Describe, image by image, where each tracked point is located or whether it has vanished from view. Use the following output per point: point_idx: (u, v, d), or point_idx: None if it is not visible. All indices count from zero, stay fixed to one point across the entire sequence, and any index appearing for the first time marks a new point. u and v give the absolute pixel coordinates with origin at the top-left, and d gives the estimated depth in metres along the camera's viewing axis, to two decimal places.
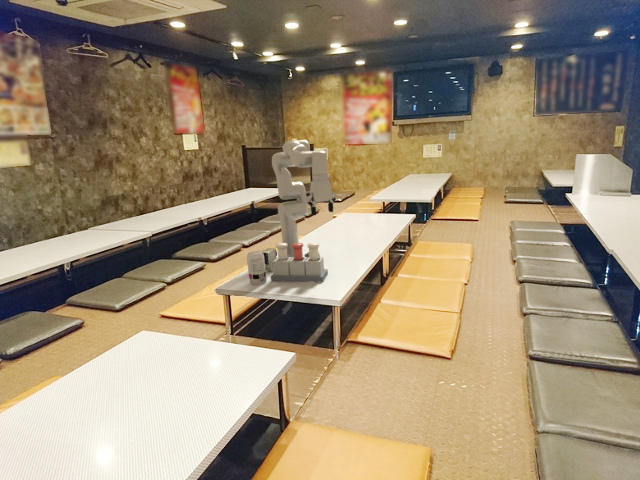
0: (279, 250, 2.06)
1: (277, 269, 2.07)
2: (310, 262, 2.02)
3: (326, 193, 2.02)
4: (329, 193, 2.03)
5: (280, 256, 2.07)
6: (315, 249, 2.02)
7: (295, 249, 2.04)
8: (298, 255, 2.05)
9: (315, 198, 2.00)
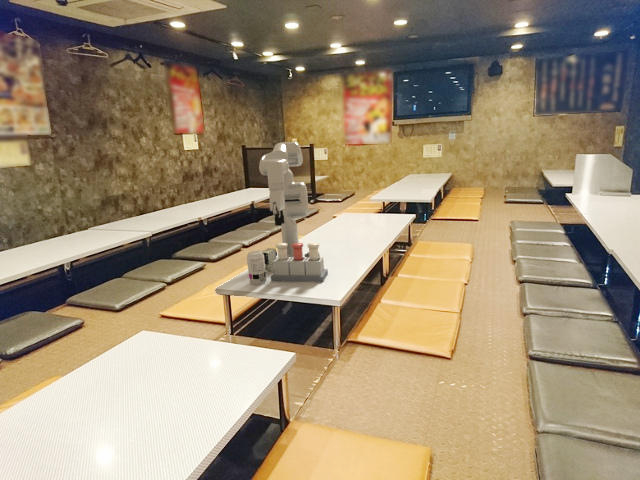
0: (279, 250, 2.06)
1: (277, 269, 2.07)
2: (310, 262, 2.02)
3: (283, 201, 2.03)
4: (284, 201, 2.05)
5: (280, 256, 2.07)
6: (315, 249, 2.02)
7: (295, 249, 2.04)
8: (298, 255, 2.05)
9: (279, 207, 1.98)
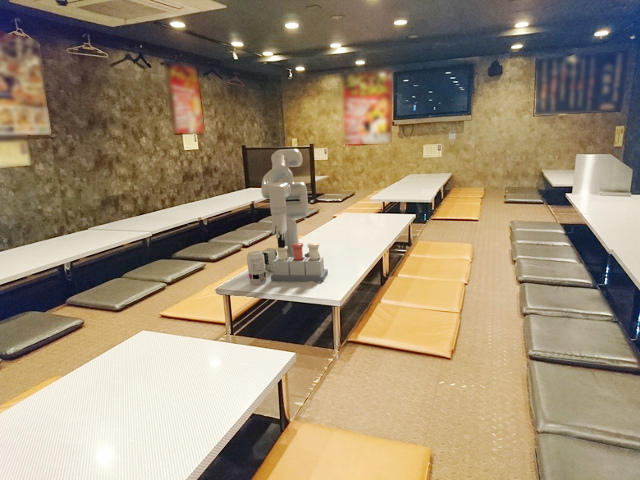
0: (279, 253, 2.06)
1: (277, 269, 2.07)
2: (310, 262, 2.02)
3: (285, 224, 2.06)
4: (286, 224, 2.07)
5: (280, 259, 2.07)
6: (315, 249, 2.02)
7: (295, 249, 2.04)
8: (298, 255, 2.05)
9: (281, 231, 2.00)
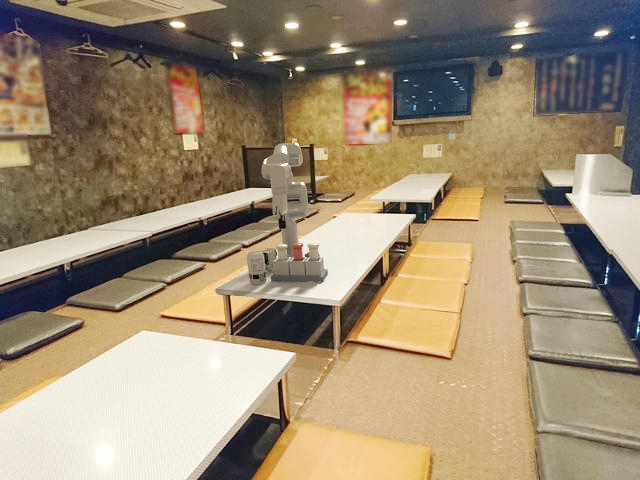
0: (279, 251, 2.06)
1: (277, 269, 2.07)
2: (310, 262, 2.02)
3: (286, 205, 2.03)
4: (287, 205, 2.05)
5: (280, 257, 2.07)
6: (315, 249, 2.02)
7: (295, 249, 2.04)
8: (298, 255, 2.05)
9: (281, 211, 1.98)
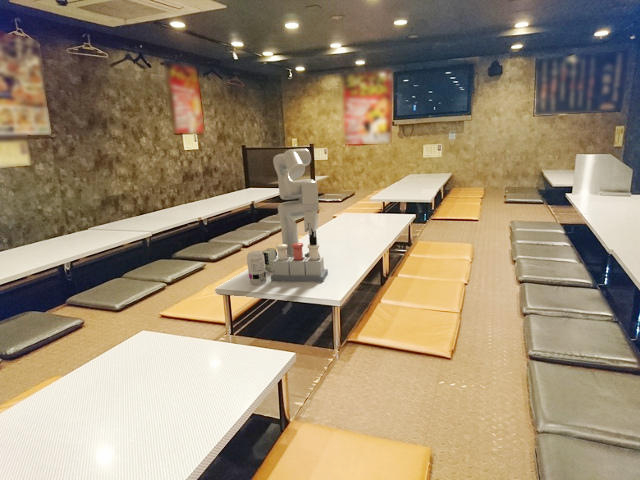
0: (279, 251, 2.06)
1: (277, 269, 2.07)
2: (310, 262, 2.02)
3: (317, 221, 2.02)
4: (317, 221, 2.04)
5: (280, 257, 2.07)
6: (315, 250, 2.02)
7: (295, 249, 2.04)
8: (298, 255, 2.05)
9: (313, 228, 1.97)
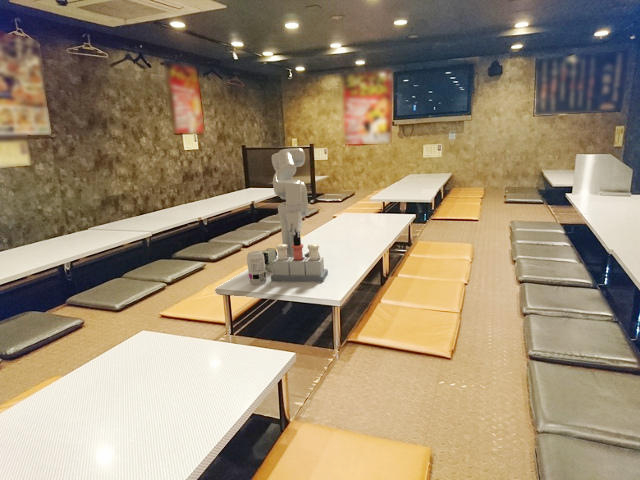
0: (279, 251, 2.06)
1: (277, 269, 2.07)
2: (310, 262, 2.02)
3: (301, 222, 2.04)
4: (301, 222, 2.05)
5: (280, 257, 2.07)
6: (315, 250, 2.02)
7: (295, 250, 2.04)
8: (298, 256, 2.05)
9: (297, 228, 1.98)
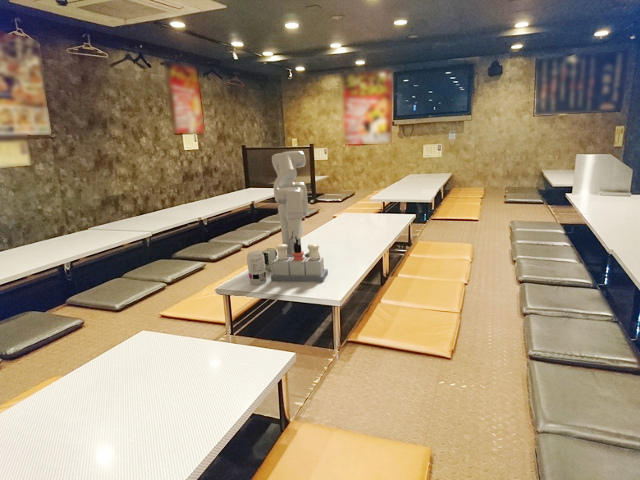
0: (279, 251, 2.06)
1: (277, 269, 2.07)
2: (310, 262, 2.02)
3: (301, 229, 2.05)
4: (302, 229, 2.06)
5: (280, 257, 2.07)
6: (315, 250, 2.02)
7: (296, 257, 2.05)
8: None
9: (297, 236, 1.99)
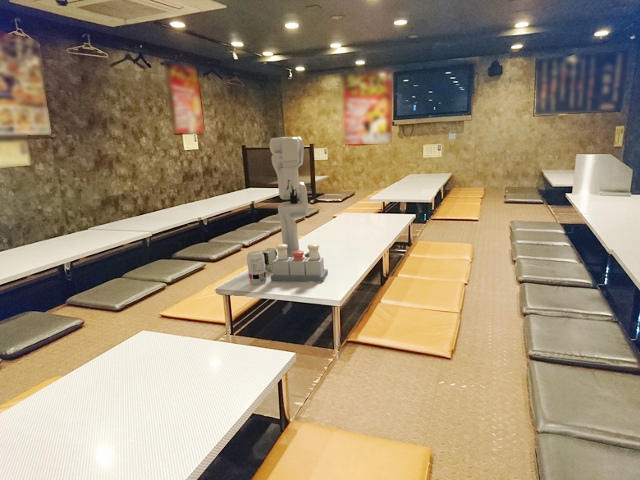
0: (279, 251, 2.06)
1: (277, 269, 2.07)
2: (310, 262, 2.02)
3: (298, 180, 1.99)
4: (298, 180, 2.01)
5: (280, 257, 2.07)
6: (315, 250, 2.02)
7: (296, 257, 2.05)
8: None
9: (294, 185, 1.94)
